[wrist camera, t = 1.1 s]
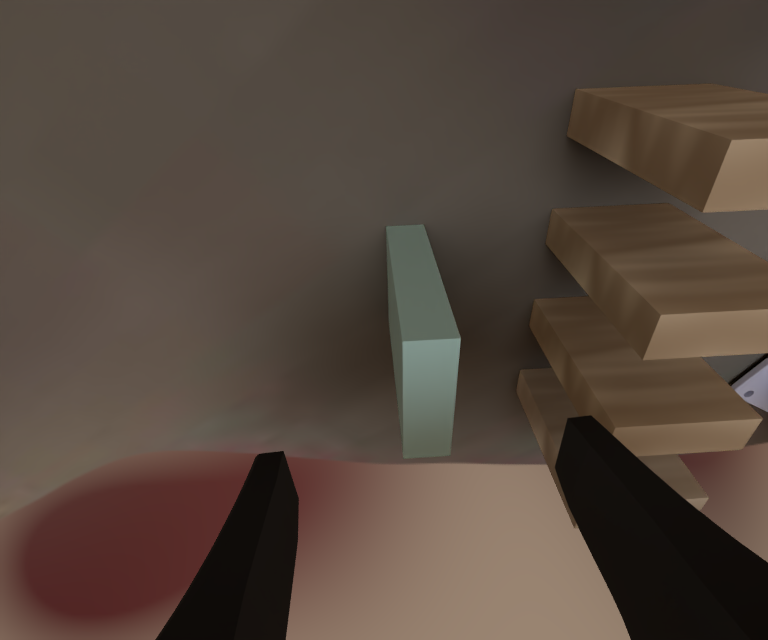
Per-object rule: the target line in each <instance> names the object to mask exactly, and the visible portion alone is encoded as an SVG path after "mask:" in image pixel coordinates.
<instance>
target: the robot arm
mask: <svg viewBox="0 0 768 640" xmlns="http://www.w3.org/2000/svg"><path fill="white" fill-rule="evenodd" d="M731 387H732V388H733V389H734V390H735V391H736V392H737V393H738V394H739V395H740V396H741V397H742V398H743V399H744V400H745V401H746V402H748V403H750V404H752V405H754V406H756V407H758V408H760V409H762V410H764V411H766V412H768V357H767V358H766V359H765V360H763V361H762V362H761V363H760V364H758V365H757V366H756V367H754V368H753V369H752V370H750V371H749V372H748V373H747V374H745V375H744V376H743V377H741V378H740V379H739V380H738V381H736V382H735V383H734V384H733V385H732V386H731ZM555 470H556V473H557V476H558V479H559V482H560V485H561V488H562V491H563V493H564V496H565V499H566V501H567V504H568V507H569V509H570V511H571V513H572V515H573V517H574V519H575V521H576V523H577V525H578V527H579V530H580V532H581V534H582V536H583V538H584V540H585V542H586V544H587V546H588V548H589V550H590V552H591V554H592V556H593V558H594V560H595V562H596V564H597V566H598V568H599V570H600V572H601V574H602V576H603V578H604V580H605V582H606V584H607V586H608V588H609V590H610V592H611V594H612V596H613V598H614V600H615V603H616V605H617V607H618V609H619V611H620V614H621V616H622V618H623V620H624V623H625V626H626V628H627V631H628V633H629V636H630V638H631V640H768V563H767V562H766V561H765V560H763V559H762V558H761V557H759V556H758V555H756V554H755V553H754V552H752V551H751V550H749V549H748V548H747V547H745V546H744V545H742V544H741V543H740V542H738V541H737V540H736V539H734V538H733V537H732V536H731V535H729V534H728V533H727V532H725V531H724V530H723V529H721V528H720V527H719V526H718V525H716V524H715V523H714V522H712V521H711V520H710V519H709V518H708V517H706V516H705V515H704V514H703V513H701V512H700V511H699V510H698V509H696V508H695V507H694V506H693V505H692V504H690V503H689V502H688V501H687V500H686V499H684V498H683V497H682V496H681V495H680V494H678V493H677V492H676V491H675V490H674V489H673V488H671V487H670V486H669V485H668V484H667V483H666V482H665V481H663V480H662V479H661V478H660V477H659V476H658V475H656V474H655V473H654V472H653V471H652V470H651V469H650V468H648V467H647V466H646V465H645V464H644V463H643V462H642V461H641V460H640V459H638V458H637V457H636V456H635V455H634V454H633V453H632V452H631V451H630V450H629V449H627V448H626V447H625V446H624V445H623V444H622V443H621V442H620V441H619V440H618V439H617V438H616V437H614V436H613V435H612V434H611V433H610V432H609V431H608V430H607V429H606V428H605V427H604V426H603V425H601V424H600V423H599V422H598V421H597V420H596V419H595V418H594V417H593V416H591V415H589V416H580V417H572V418H567V422H566V426H565V430H564V434H563V437H562V441H561V445H560V449H559V453H558V456H557V460H556V464H555ZM298 501H299V498H298V495H297V492H296V489H295V486H294V482H293V479H292V477H291V473H290V470H289V467H288V464H287V461H286V457H285V454H284V451H280V452H272V453H263V454H258V455H257V456H256V458H255V460H254V462H253V465H252V467H251V470H250V472H249V474H248V476H247V479H246V481H245V483H244V485H243V487H242V490H241V492H240V494H239V496H238V498H237V500H236V502H235V504H234V506H233V508H232V510H231V512H230V514H229V516H228V518H227V520H226V522H225V524H224V526H223V528H222V530H221V531H220V533H219V536H218V537H217V539H216V541H215V543H214V545H213V547H212V548H211V550H210V552H209V554H208V556H207V557H206V559H205V561H204V563H203V564H202V566H201V568H200V569H199V571H198V573H197V575H196V576H195V578H194V580H193V581H192V583H191V585H190V587H189V588H188V590H187V592H186V593H185V595H184V596H183V598H182V600H181V601H180V603H179V605H178V606H177V608H176V609H175V611H174V613H173V614H172V616H171V617H170V619H169V620H168V622H167V623H166V625H165V626H164V628H163V629H162V631H161V632H160V634H159V635H158V637H157V638H156V640H286V632H287V624H288V616H289V608H290V600H291V592H292V584H293V576H294V567H295V560H296V551H297V542H298V505H299V502H298Z"/></svg>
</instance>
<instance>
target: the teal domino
mask: <svg viewBox="0 0 768 640" xmlns="http://www.w3.org/2000/svg"><path fill="white" fill-rule="evenodd" d="M386 242H387V277H388V312H389V329H390V338H391V348H392V357H393V367H394V376H395V385H396V395H397V404H398V413H399V423H400V432H401V441H402V451H403V459H406V458H422V457H438V456H450V454H451V443H452V432H453V421H454V409H455V398H456V387H457V376H458V364H459V353H460V342H461V337H460V334H459V331H458V328H457V325H456V322H455V319H454V316H453V313H452V310H451V307H450V304H449V301H448V297H447V294H446V291H445V288H444V285H443V282H442V279H441V276H440V273H439V270H438V267H437V264H436V261H435V258H434V255H433V252H432V248H431V245H430V242H429V239H428V236H427V233H426V230H425V227H424V224H423V225H403V226H386Z"/></svg>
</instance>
